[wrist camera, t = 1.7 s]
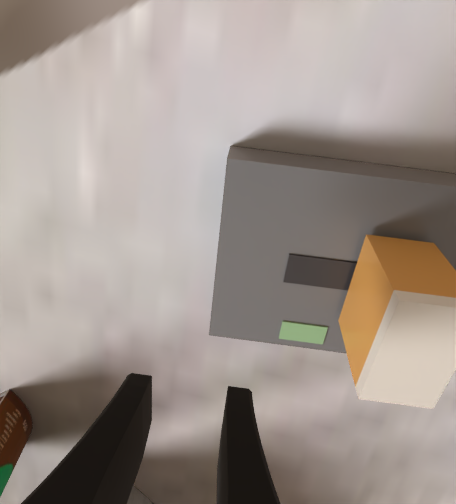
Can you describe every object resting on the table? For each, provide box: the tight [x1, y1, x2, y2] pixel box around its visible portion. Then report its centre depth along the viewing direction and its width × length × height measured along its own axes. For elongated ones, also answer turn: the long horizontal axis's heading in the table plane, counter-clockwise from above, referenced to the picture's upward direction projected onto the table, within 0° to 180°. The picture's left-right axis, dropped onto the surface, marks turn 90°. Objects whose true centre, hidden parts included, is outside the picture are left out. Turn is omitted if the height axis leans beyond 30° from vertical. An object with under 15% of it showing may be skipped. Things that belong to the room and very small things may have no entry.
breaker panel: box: [209, 146, 456, 353], centre depth 19 cm, size 16×10×2 cm, turn 84°
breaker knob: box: [338, 234, 456, 409], centre depth 16 cm, size 3×5×5 cm, turn 174°
